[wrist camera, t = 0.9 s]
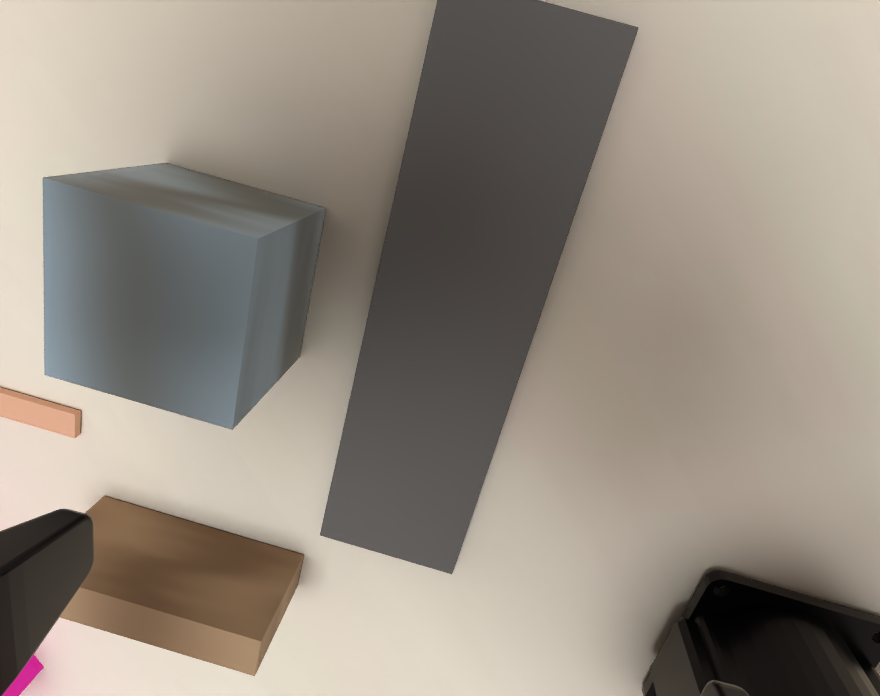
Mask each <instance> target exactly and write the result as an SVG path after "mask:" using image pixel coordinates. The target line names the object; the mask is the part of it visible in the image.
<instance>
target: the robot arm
mask: <svg viewBox="0 0 880 696" xmlns="http://www.w3.org/2000/svg"><path fill="white" fill-rule="evenodd" d="M93 561H94V531H93V520H92V518H91V516H89V515H88V514H85V513H81V512H77V511H73V510H69V509H59V510H56V511H53V512H50V513H48V514H45V515H42V516H40V517H37V518H34V519H32V520H29V521H26V522H24V523H21V524H18V525H16V526H13V527H10V528H8V529H5V530H2V531H0V696H2V695H3V694H4V693H5V691H6V690H7V689H8V688H9V686H10V685H11V684H12V683H13V681H14V680H15V679H16V678H17V676H18V675H19V674H20V672H21V671H22V670H23V668H24V667H25V666H26V664H27V663H28V661H29V660H30V659H31V657H32V656H33V654H34V653H35V651H36V650H37V649H38V647H39V646H40V644H41V643H42V641H43V640H44V638H45V637H46V636H47V634H48V633H49V631H50V630H51V628H52V627H53V625H54V624H55V623H56V621H57V620H58V618H59V617H60V615H61V614H62V612H63V611H64V609H65V608H66V607H67V605H68V604H69V602H70V601H71V599H72V598H73V596H74V595H75V594H76V592H77V591H78V589H79V588H80V586H81V585H82V583H83V582H84V581H85V579H86V578H87V576H88V574H89V572H90V570H91V568H92V565H93ZM719 585H724V586H723V587H721V588H715V587H716V586H719ZM877 632H878V633H877ZM879 662H880V617H878V616H875V615H871V614H868V613H865V612H861V611H858V610H854V609H851V608H847V607H844V606H841V605H837V604H834V603H830V602H827V601H823V600H820V599H817V598H813V597H810V596H806V595H803V594H799V593H796V592H793V591H789V590H786V589H782V588H779V587H775V586H772V585H769V584H765V583H762V582H758V581H755V580H751V579H748V578H745V577H741V576H738V575H734V574H731V573H727V572H724V571H713V572H710V573H708V574H707V575H706V576H705V577H704V578H703V580H702V582H701V583H700V585H699V587H698V589H697V591H696V592H695V594H694V596H693V598H692V600H691V601H690V603H689V605H688V607H687V608H686V610H685V612H684V614H683V616H682V617H681V618H680V619H679V620H677V621H676V622H675V624H674V626H673V628H672V629H671V631H670V633H669V635H668V637H667V638H666V640H665V642H664V644H663V646H662V647H661V649H660V651H659V653H658V654H657V656H656V658H655V660H654V662H653V663H652V665H651V668H650V670H651V673H650V675H649V676H648V678H647V680H646V682H645V683H644V685H643V688H642V691H643V696H880V677H879V675H878V674H877V672H876V670H875V669H874V668H875V667H876V666H877V664H878V663H879Z"/></svg>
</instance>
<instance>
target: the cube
mask: <svg viewBox="0 0 880 696" xmlns="http://www.w3.org/2000/svg"><path fill="white" fill-rule="evenodd" d="M325 210H326V208H324V207H321V206H317V205H314V204H310V203H307V202H303V201H300V200H296V199H292V198H289V197H285V196H282V195H278V194H275V193H271V192H268V191H264V190H261V189H257V188H253V187H250V186H246V185H243V184H239V183H236V182H232V181H229V180H225V179H222V178H218V177H214V176H211V175H207V174H204V173H200V172H197V171H193V170H190V169H186V168H183V167H179V166H175V165H172V164H168V163H161V164H152V165H144V166H136V167H127V168H119V169H110V170H102V171H94V172H85V173H77V174H68V175H60V176H52V177H43V256H44V362H45V375H47V376H50V377H54V378H57V379H60V380H64V381H67V382H71V383H74V384H78V385H81V386H84V387H88V388H91V389H95V390H98V391H102V392H105V393H108V394H112V395H115V396H119V397H122V398H126V399H129V400H132V401H136V402H139V403H143V404H146V405H150V406H153V407H156V408H160V409H163V410H167V411H170V412H174V413H177V414H181V415H184V416H187V417H191V418H194V419H198V420H201V421H205V422H208V423H211V424H215V425H218V426H222V427H225V428H229V429H232V430H233V428H234V427H235V426H236V425H237V424H238V423H239V422H240V421H241V420H242V419H243V418H244V417H245V416H246V414H247V413H248V412H249V411H250V410H251V409H252V408H253V407H254V406H255V405H256V404H257V403H258V401H259V400H260V399H261V398H262V397H263V396H264V395H265V394H266V393H267V392H268V391H269V390H270V388H271V387H272V386H273V385H274V384H275V383H276V382H277V381H278V380H279V379H280V378H281V377H282V375H283V374H284V373H285V372H286V371H287V370H288V369H289V368H290V367H291V366H292V365H293V364H294V363H295V361H296V360H297V359H298V358H299V357H300V352H301V346H302V341H303V335H304V329H305V324H306V318H307V312H308V307H309V301H310V295H311V290H312V284H313V278H314V273H315V267H316V261H317V256H318V250H319V244H320V239H321V233H322V227H323V222H324V216H325Z"/></svg>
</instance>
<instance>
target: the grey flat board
mask: <svg viewBox="0 0 880 696" xmlns="http://www.w3.org/2000/svg"><path fill="white" fill-rule="evenodd" d="M637 31H638V27H634V26H631V25H627V24H623V23H620V22H616V21H612V20H609V19H605V18H601V17H598V16H594V15H590V14H587V13H583V12H579V11H575V10H572V9H568V8H564V7H561V6H557V5H553V4H550V3H546V2H542V1H539V0H438V1H437V5H436V10H435V14H434V19H433V23H432V28H431V32H430V37H429V41H428V46H427V51H426V55H425V60H424V64H423V69H422V73H421V78H420V82H419V87H418V91H417V96H416V101H415V105H414V110H413V114H412V119H411V123H410V128H409V132H408V137H407V141H406V146H405V151H404V155H403V160H402V164H401V169H400V173H399V178H398V182H397V187H396V191H395V196H394V201H393V205H392V210H391V214H390V219H389V223H388V228H387V232H386V237H385V242H384V246H383V251H382V255H381V260H380V264H379V269H378V273H377V278H376V282H375V287H374V292H373V296H372V301H371V305H370V310H369V314H368V319H367V323H366V328H365V332H364V337H363V342H362V346H361V351H360V355H359V360H358V364H357V369H356V373H355V378H354V382H353V387H352V392H351V396H350V401H349V405H348V410H347V414H346V419H345V423H344V428H343V433H342V437H341V442H340V446H339V451H338V455H337V460H336V464H335V469H334V473H333V478H332V483H331V487H330V492H329V496H328V501H327V505H326V510H325V514H324V519H323V523H322V528H321V533H320V535H321V536H324V537H328V538H331V539H334V540H338V541H341V542H345V543H348V544H351V545H355V546H358V547H362V548H365V549H368V550H372V551H375V552H379V553H382V554H385V555H389V556H392V557H396V558H399V559H402V560H406V561H409V562H412V563H416V564H419V565H423V566H426V567H429V568H433V569H436V570H440V571H443V572H446V573H450V574H452V573H453V570H454V567H455V564H456V561H457V558H458V555H459V553H460V550H461V547H462V544H463V541H464V538H465V535H466V532H467V529H468V526H469V523H470V520H471V517H472V514H473V511H474V509H475V506H476V503H477V500H478V497H479V494H480V491H481V488H482V485H483V482H484V479H485V476H486V473H487V470H488V468H489V465H490V462H491V459H492V456H493V453H494V450H495V447H496V444H497V441H498V438H499V435H500V432H501V429H502V427H503V424H504V421H505V418H506V415H507V412H508V409H509V406H510V403H511V400H512V397H513V394H514V391H515V388H516V385H517V383H518V380H519V377H520V374H521V371H522V368H523V365H524V362H525V359H526V356H527V353H528V350H529V347H530V344H531V342H532V339H533V336H534V333H535V330H536V327H537V324H538V321H539V318H540V315H541V312H542V309H543V306H544V303H545V300H546V298H547V295H548V292H549V289H550V286H551V283H552V280H553V277H554V274H555V271H556V268H557V265H558V262H559V259H560V257H561V254H562V251H563V248H564V245H565V242H566V239H567V236H568V233H569V230H570V227H571V224H572V221H573V218H574V215H575V213H576V210H577V207H578V204H579V201H580V198H581V195H582V192H583V189H584V186H585V183H586V180H587V177H588V174H589V172H590V169H591V166H592V163H593V160H594V157H595V154H596V151H597V148H598V145H599V142H600V139H601V136H602V133H603V131H604V128H605V125H606V122H607V119H608V116H609V113H610V110H611V107H612V104H613V101H614V98H615V95H616V92H617V89H618V87H619V84H620V81H621V78H622V75H623V72H624V69H625V66H626V63H627V60H628V57H629V54H630V51H631V48H632V46H633V43H634V40H635V37H636V34H637Z"/></svg>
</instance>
